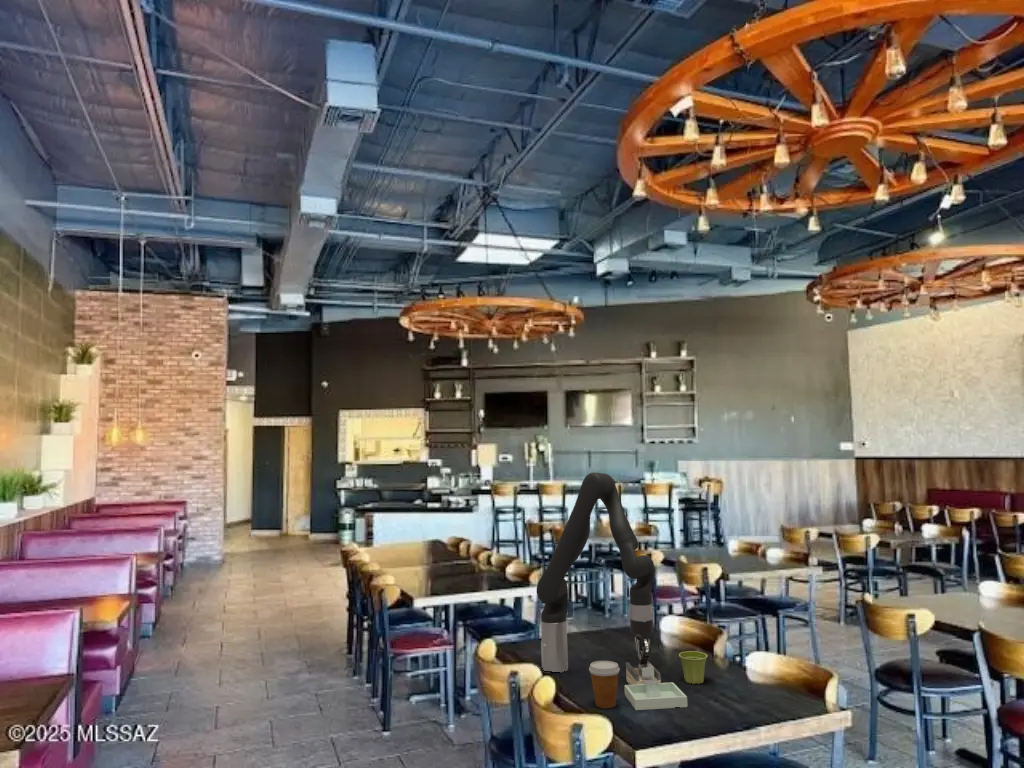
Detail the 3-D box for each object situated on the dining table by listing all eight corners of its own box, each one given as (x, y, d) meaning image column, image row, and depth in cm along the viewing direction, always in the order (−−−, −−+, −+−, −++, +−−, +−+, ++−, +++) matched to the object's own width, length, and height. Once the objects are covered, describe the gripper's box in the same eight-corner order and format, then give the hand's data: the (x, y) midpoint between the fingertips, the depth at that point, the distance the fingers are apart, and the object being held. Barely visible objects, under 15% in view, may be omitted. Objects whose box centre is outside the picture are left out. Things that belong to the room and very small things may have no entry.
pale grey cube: (644, 693, 230) (647, 697, 226) (643, 680, 231) (647, 684, 227) (656, 692, 231) (660, 696, 227) (655, 679, 231) (659, 683, 227)
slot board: (637, 694, 231) (636, 674, 232) (626, 680, 245) (625, 662, 246) (661, 692, 232) (660, 673, 233) (649, 679, 246) (648, 661, 246)
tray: (635, 710, 217) (635, 699, 217) (624, 694, 231) (624, 685, 231) (687, 707, 218) (687, 696, 219) (673, 691, 232) (673, 682, 233)
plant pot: (713, 680, 242) (712, 654, 243) (700, 688, 235) (698, 660, 236) (689, 675, 249) (687, 649, 249) (674, 682, 242) (673, 655, 243)
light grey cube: (642, 680, 232) (641, 667, 232) (639, 676, 236) (638, 664, 236) (654, 679, 232) (653, 667, 233) (650, 676, 236) (650, 663, 237)
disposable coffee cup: (613, 712, 216) (611, 670, 217) (585, 707, 221) (583, 666, 222) (626, 702, 224) (624, 662, 225) (598, 697, 229) (596, 658, 230)
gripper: (625, 613, 246) (627, 665, 245) (635, 622, 233) (637, 677, 232) (646, 612, 247) (649, 664, 245) (658, 621, 234) (660, 676, 232)
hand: (643, 670), depth 239 cm, fingers closed
